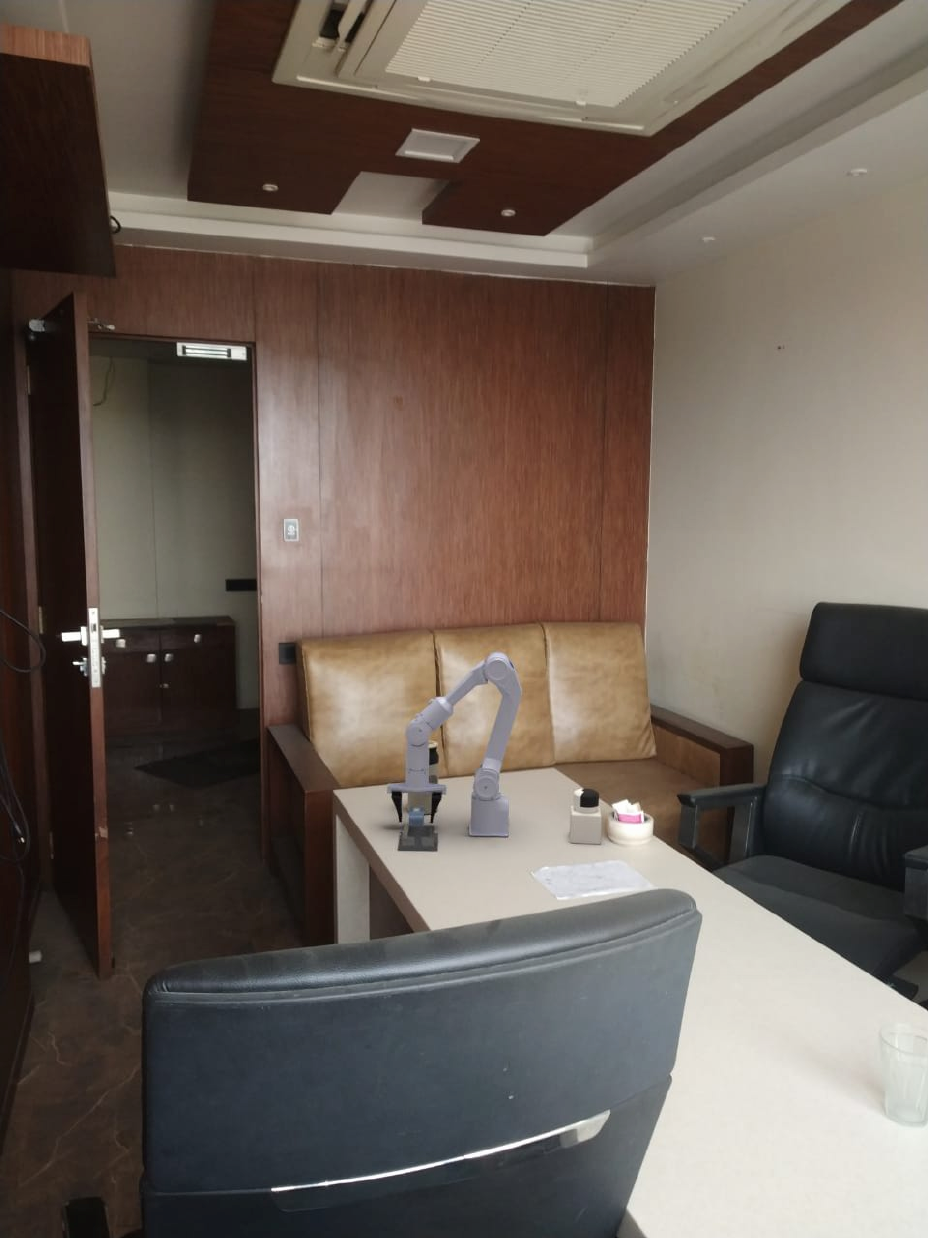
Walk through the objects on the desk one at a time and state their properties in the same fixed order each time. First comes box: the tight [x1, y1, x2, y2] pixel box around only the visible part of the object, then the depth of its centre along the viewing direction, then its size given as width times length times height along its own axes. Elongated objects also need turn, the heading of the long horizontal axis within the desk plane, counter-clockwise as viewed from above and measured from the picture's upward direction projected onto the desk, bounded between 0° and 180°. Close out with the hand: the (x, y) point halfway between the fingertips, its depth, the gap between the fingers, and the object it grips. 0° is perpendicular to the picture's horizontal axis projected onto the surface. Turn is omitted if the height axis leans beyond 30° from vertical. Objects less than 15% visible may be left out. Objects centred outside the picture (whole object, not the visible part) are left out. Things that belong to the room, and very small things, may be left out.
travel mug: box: [407, 740, 440, 815], centre depth 229 cm, size 8×8×18 cm
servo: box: [407, 806, 425, 825], centre depth 216 cm, size 4×7×6 cm, turn 0°
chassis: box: [397, 824, 439, 852], centre depth 206 cm, size 9×10×3 cm
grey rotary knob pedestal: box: [569, 788, 603, 845], centre depth 211 cm, size 7×7×12 cm
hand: (416, 821), depth 216 cm, fingers open, 7 cm apart
